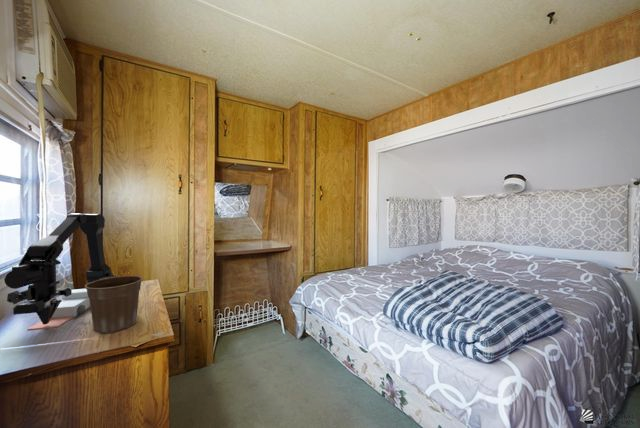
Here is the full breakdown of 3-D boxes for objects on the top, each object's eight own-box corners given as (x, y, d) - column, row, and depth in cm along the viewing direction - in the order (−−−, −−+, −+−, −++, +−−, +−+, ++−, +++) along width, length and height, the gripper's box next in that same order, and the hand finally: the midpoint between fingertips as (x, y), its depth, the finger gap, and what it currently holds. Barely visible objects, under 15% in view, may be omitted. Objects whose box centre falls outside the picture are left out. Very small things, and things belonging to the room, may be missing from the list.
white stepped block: (67, 306, 112) (67, 290, 112) (98, 303, 115) (97, 287, 115) (41, 321, 98) (41, 302, 97) (77, 317, 101) (77, 299, 100)
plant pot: (98, 319, 99) (97, 277, 98) (148, 314, 105) (147, 273, 104) (75, 340, 84) (74, 290, 83) (135, 332, 89) (135, 285, 89)
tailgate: (44, 318, 97) (26, 329, 89) (73, 316, 100) (59, 325, 92) (44, 321, 97) (26, 331, 89) (74, 318, 100) (59, 328, 92)
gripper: (35, 274, 98) (36, 315, 98) (-11, 290, 80) (-9, 340, 81) (72, 272, 101) (72, 312, 102) (35, 286, 83) (37, 335, 84)
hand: (45, 323), depth 92 cm, fingers closed
